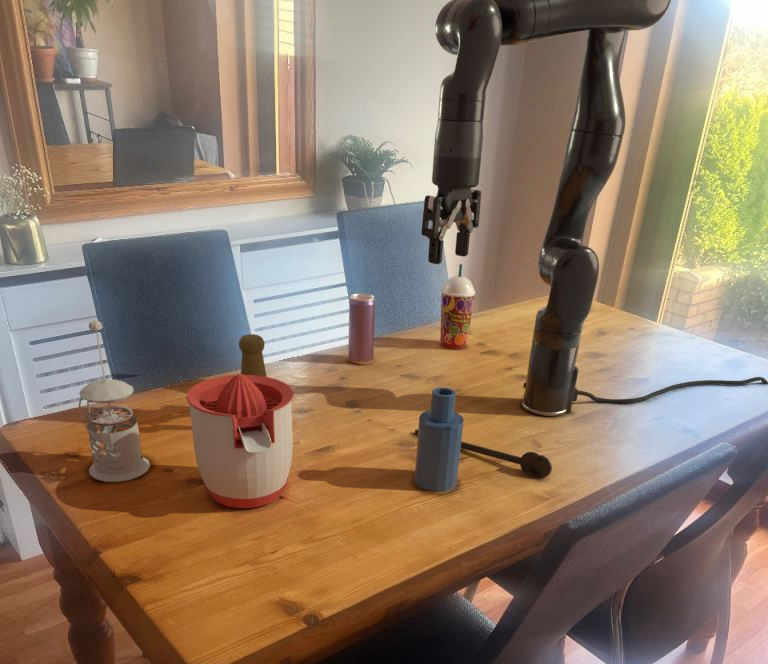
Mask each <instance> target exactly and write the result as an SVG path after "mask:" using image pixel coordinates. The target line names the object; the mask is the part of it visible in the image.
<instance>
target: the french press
mask: <svg viewBox="0 0 768 664" xmlns="http://www.w3.org/2000/svg"><path fill="white" fill-rule="evenodd" d="M88 329H89V330H91V331H95V335H96V336H95V337H96V342H97V347H98V353H99V359H100V364H101V372H102V377H103V379H98V380H96V381H95V380H94V381H93V382H90V383H88V384H87V385H85V386H83V387H82V389H81V390H80V391H79V392H78V393H79V397H80V398H79V402H78V411H79V416H80V418H81V421H82V423H83V424H82V425H83V426H84V428H85V430H87V434H88V439H89V442H90V444H89V445H90V450H91V455H92V460H93V463H92V464H91V466H90V467H89V469H88V472H89V476H90V477H92V478H94V479H95V480H98V481H101V482H107V483H108V482H109V483H111V482H112V483H119V482H125V481H131V480H133V479H136V478H139V477H141V476H142V475H144V474H145V473H147V472H148V471H149V469H150V467H151V464H150V461H149V460H148V459H146V458H145V457H144V456H143V451H142V444H141V437H140V430H139V424H138V420H137V418H136V417H135V416H134V415H135V412H134V410H133V409H131V408H129V406H128V407H127V406H122V405H111V404H110V403H117V402H121V401H124V400H127V399H128V398H130V397H131V396H132V395H133V394H134V387H133V386H132V385H131V384H128V383H127V382H125V381H123V380H118V379H107V378H106V374H105V369H104V368H105V367H104V362H103V357H102V350H101V346H100V340H99V334H98V331H99V330H101V329H103V324H102V323H101V322H100V321H99V320H96V319H95V320H91V321H90V322H88ZM82 400H85V401H86V405H87V406H86V407H87V411H88V414H87V416H86V419H87V421H88V422H87V424H86V422H85V420H84V416H83V413H82V409H81V405H82ZM92 403H95V404H107V406H103V407H97V408H95V409H94V410H91V408H90V404H92ZM128 422H131V423H132V424H130V423H128ZM98 426H99V427H98ZM121 428H128V429H124V430H119V429H121ZM117 430H119V431H117ZM98 431H99V432H98ZM100 444H102V445H103V447H102V446H101V445H100ZM102 452H103V453H102Z"/></svg>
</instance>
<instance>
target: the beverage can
mask: <svg viewBox="0 0 768 664" xmlns="http://www.w3.org/2000/svg"><path fill="white" fill-rule="evenodd" d="M375 325H376V297H375V295H373V294H370V293H353V294H350V297H349V300H348V348H347V349H348V350H347V351H348V354H347V358H348V360H349V362H351V363H353V364H356V365H367V364H370V363H372V362H373V360H374V354H375V353H374V352H375V327H376V326H375Z"/></svg>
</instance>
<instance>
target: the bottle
mask: <svg viewBox="0 0 768 664" xmlns="http://www.w3.org/2000/svg"><path fill="white" fill-rule="evenodd" d="M456 394H457V393H456V391H455V390H454V389H452V388H449V387H436V388H433V389H432V390H431V399H430V400H431V401H430V410H425V411H423V412H421V413H420V415H419V418H418V427H417V430H418V435H417V440H416V442H417V443H416V455H415V456H416V457H415V458H416V459H415V468H414V469H415V470H414V482H415V484H416V485H417V486H418V487H419V488H420V489H422V490H425V491H429V492H435V493H443V492H447V491H451V490H453V489H454V488H455V487H456V486H457V485H458V477H459V468H460V458H461V450H462V449H461V441H462V440H463V431H464V422H465V419H464V417H463V416H462V415H461V414H459V413H458V412H455V404H456V397H457V395H456ZM462 442H463V441H462Z"/></svg>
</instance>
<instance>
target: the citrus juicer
mask: <svg viewBox="0 0 768 664" xmlns="http://www.w3.org/2000/svg"><path fill="white" fill-rule="evenodd" d="M293 399H294V391H293V390H292V387H290V386H289V384H287V383H285V382H283V381H282V380H279V379H276V378H274V377H273V378H272V377H268V376H267V377H264V376H257V375H242V374H241V373H237V374H233V375H232V374H231V375H230V374H229V375H223V376H218V377H213V378H208V379H205V380H202V381H201V382H199V383H197V384H195V385H193V386H192V387H190V389H189V390H188V392H187V395H186V400H187V403H188V404H189V413H190V420H191V431H192V440H193V449H194V455H195V460H196V465H197V467H198V471H199V474H200V476H201V478H202V481H203V484H204V487H205V488H206V490H207V492H208V493H209V495H210V496H211V498H212V500H214V501H215V502H217V503H219V504H220V505H223V506H226V507H227V508H236V509H250V508H258V507H262V506H265V505H268V504H271V503H273V502H275V501H276V500H277V499H279V498H280V496H281V495H282V494H283V492H284V490H285V487H286V486H287V482H288V480H289V474H290V470H291V467H292V460H293V448H294V447H293V407H292V406H293V405H292V400H293Z"/></svg>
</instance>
